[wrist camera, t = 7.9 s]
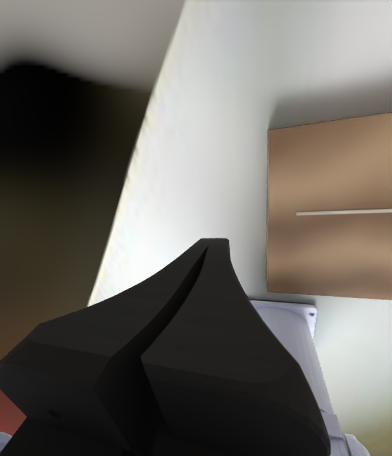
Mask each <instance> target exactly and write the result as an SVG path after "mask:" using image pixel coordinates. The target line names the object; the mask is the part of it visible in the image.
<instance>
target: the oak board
mask: <svg viewBox="0 0 392 456" xmlns="http://www.w3.org/2000/svg"><path fill="white" fill-rule="evenodd" d="M266 284H267V292H276V293H292V294H307V295H322V296H338V297H353V298H368V299H383V300H392V112H389V113H382V114H376V115H369V116H362V117H355V118H348V119H341V120H334V121H327V122H320V123H313V124H306V125H299V126H292V127H285V128H279V129H272V130H268V144H267V233H266Z"/></svg>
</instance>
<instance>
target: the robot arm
mask: <svg viewBox="0 0 392 456" xmlns="http://www.w3.org/2000/svg"><path fill="white" fill-rule="evenodd" d="M317 312H318V310H317V307H316V306H314V305H307V304H295V303H282V302H269V301H256V300H249V299H248V297H247V295H246V294H245V292H244V290H243V288H242V286H241V284H240V282H239V280H238V278H237V276H236V274H235V271H234V269H233V266H232V263H231V260H230V248H229V240H228V239H227V238H201V239H200V240H199V241H197V242H196V243H195V244H194V245H192V246H191V247H190V248H189V249H188V250H186V251H185V252H184V253H183V254H182V255H180V256H179V257H178V258H177V259H175V260H174V261H172V262H171V263H170V264H168V265H167V266H166V267H164V268H163V269H162V270H160V271H159V272H157V273H156V274H154V275H152V276H151V277H149V278H147V279H146V280H144V281H142V282H141V283H139V284H137V285H135V286H133V287H131V288H129V289H127V290H125V291H123V292H121V293H119V294H117V295H115V296H113V297H111V298H108V299H106V300H104V301H102V302H99V303H97V304H94V305H92V306H89V307H87V308H84V309H82V310H79V311H76V312H73V313H70V314H67V315H64V316H61V317H58V318H56V319H53V320H50V321H47V322H43V323H40V324H39V325H38V326H36V327H35V328H34V329H33V330H32V331H31V332H30V333H29V334H28V335H27V336H26V337H25V338H24V339H23V340H22V341H21V342H20V343H19V344H18V345H17V346H15V347H14V348H13V349H12V350H11V351H10V352H9V353H8V354H7V355H6V356H5V357H4V358H3V359H2V360H0V389H1V391H2V392H3V393H4V394H5V395H6V396H7V397H8V398H9V399H10V400H11V401H12V402H13V403H14V404H15V405H16V406H17V407H18V408H19V409H20V410H21V411H22V412H23V413H24V414H25V415H26V416H27V418H26V419H25V421H24V422H23V423H22V425H21V426H20V427H19V428H18V430H17V431H16V433H15V434H14V435H13V436H11V435H8V434H5V433H3V432H0V456H370V454H369V452H368V450H367V449H366V448H365V447H364V446H363V445H362V444H361V443H360V442H358V441H357V439H356V437H355V436H354V435H352V434H344V436H345V441H346V445H347V449H348V452H347V449H346V446H345V443H344V440H343V436H342V433H341V429H340V426H339V422H338V419H337V416H336V415H335V414H334V412H333V409H332V405H331V402H330V398H329V395H328V391H327V388H326V384H325V381H324V377H323V374H322V370H321V367H320V363H319V360H318V356H317V353H316V349H315V346H314V342H313V337H314V331H315V324H316V318H317ZM348 453H349V455H348Z"/></svg>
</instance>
